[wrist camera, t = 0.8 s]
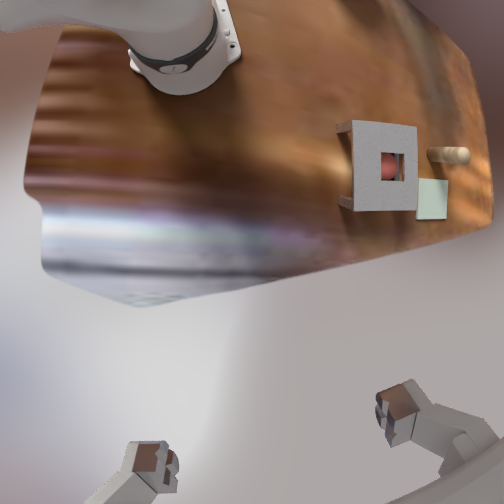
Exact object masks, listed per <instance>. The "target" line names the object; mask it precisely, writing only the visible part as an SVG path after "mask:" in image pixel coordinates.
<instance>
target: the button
mask: <svg viewBox="0 0 504 504" xmlns="http://www.w3.org/2000/svg"><path fill="white" fill-rule="evenodd" d="M397 171H398V163H397V160H396V158H395V157H394V156H393V155H391V154H389V153H381V179H385V180H389V179H392V178H394V177H395V175H396V174H397Z"/></svg>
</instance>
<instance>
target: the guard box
mask: <svg viewBox="0 0 504 504" xmlns="http://www.w3.org/2000/svg"><path fill="white" fill-rule="evenodd" d="M336 131H337V133H349V132H351V144H352V198H351V197H348V196H338V205H341V206H343V207H345V208H348V209H350V210H352V211H389V210H417V185H418V150H417V127H413V126H406V125H399V124H391V123H382V122H372V121H361V120H350V121H347V122H343V123H340V124H337V125H336ZM381 152H385V153H389V154H391V155H393V156H394V157H395V158H396V160H397V163H398V171H397V174H396V175H395V177H394V178H392V179H389V180H385V179H381ZM399 154H402V181H399Z"/></svg>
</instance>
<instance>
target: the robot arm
mask: <svg viewBox="0 0 504 504" xmlns="http://www.w3.org/2000/svg"><path fill="white" fill-rule="evenodd" d="M223 11H224V12H223ZM59 24H69V25H81V26H89V27H95V28H100V29H105V30H109V31H112V32H115V33H117V34H118V35H120V36H121V37H122V38H123V39H124V40H125V41H127V44H128V46H129V48H130V49H129V50H128V54H129V56H130V57H131V62H130V66H131V68H132V69H133V70H134V71H135V72H137V73H140V74H142V75H144V76H145V77H146V78H147V79H148V81H149V82H150V83H151V84H152V85H153V86H154V87H155V88H157V89H158V90H160V91H162V92H165V93H168V94H172V95H187V94H192V93H196V92H199V91H201V90H203V89H205V88H207V87H208V86H210V85H211V84H212V83H214V82H215V81H216V80H217V79H218V78H219V76H220V75H221V74H222V72H223V71H224V69H225V68H226V67H227V66H228V65H229V64H231V63H233V62H234V61H236V60H237V59H238V58H239V57H240V56H241V49H240V45H239V42H238V38H237V35H236V31H235V28H234V25H233V21H232V18H231V15H230V11H229V8H228V5H227V2H226V0H0V30H2V31H5V32H10V33H11V32H12V33H13V32H19V31H22V30H26V29H30V28H34V27H40V26H45V25H59ZM232 45H233V46H235V47H234V48H230V46H232ZM376 401H377V403H378V404H377V406H376V407H375V413H376V418H377V420H378V423H379V425H380V427H381V428H382V429H385V437H386V439H387V441H388V443H389V445H390V447H391V448H392V447H394V446H397V445H399V444H402V443H404V442H407V441H409V440H411V441H412V442H414V443H416V444H418V445H420V446H422V447H423V448H425V449H427V450H429V451H431V452H433V453H435V454H437V455H439V456H441V457H443V458H444V461H443V463H442V465H441V467H440V469H439V471H438V473H439V475H440V477H441V478H439V479H437V480H435V481H433V482H431V483H429V484H428V485H426V486H424V487H422V488H419V489H417V490H415V491H413V492H411V493H409V494H407V495H404V496H402V497H400V498H398V499H395V500H393V501H390V502H388V503H386V504H504V437H503V438H501V439H499V438H498V436H497V435H496V434H495V433H494V431H493V430H492V429H491V427H490V426H489V425H488V424H487V422H486V421H485V420H484V419H483V418H479V417H476V416H473V415H470V414H466V413H463V412H460V411H457V410H454V409H451V408H448V407H446V406H442V405H440V404H437V403H436V404H432V403H431V402H430V400H429V399H428V398H427V396H426V395H425V393H424V392H423V391H422V389H421V388H420V387H419V385H418V384H417V383H416V381H415V380H413V379H410V380H408V381H405V382H403V383H401V384H398V385H395V386H393V387H391V388H388V389H386V390H383V391H381V392H378V393H377V394H376ZM168 448H169V445H168V444H167V442H166V441H135V442H134V441H131V442H129V444H128V446H127V449H126V452H125V456H124V460H123V463H122V467H121V471H120V472H117V473H116V474H114V475H113V476H112V477H111V478H110V479H109V480H108V481H107V482H106V483H105V484H104V485H103V486H101V487H100V488H99V489H98V490H97V491H96V492H95V493H94V494H93V495H91V496H90V497H89V498H88V499H87V500H86V501H85V502H84V504H151V503H152V502H153V500H154V499H155V498H156V496H157V494H158V493H176V492H177V482H178V480H177V479H176V477H175V475H176V474H177V473H178V472H179V462H178V458H177V456H176V454H175V453H174V451H172V450H170V449H168Z"/></svg>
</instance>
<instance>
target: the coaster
mask: <svg viewBox="0 0 504 504" xmlns="http://www.w3.org/2000/svg"><path fill="white" fill-rule="evenodd" d="M447 198H448V180H439V179H423V178H418V185H417V210H416V219H446V214H447Z"/></svg>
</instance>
